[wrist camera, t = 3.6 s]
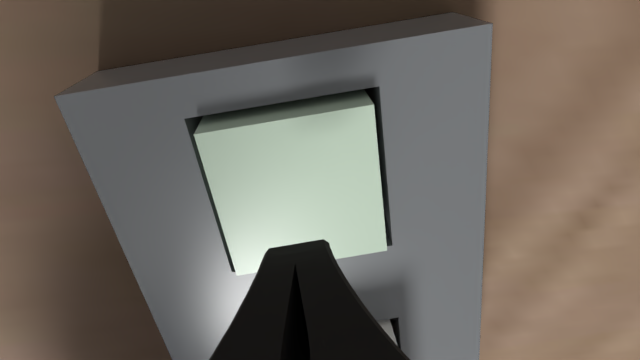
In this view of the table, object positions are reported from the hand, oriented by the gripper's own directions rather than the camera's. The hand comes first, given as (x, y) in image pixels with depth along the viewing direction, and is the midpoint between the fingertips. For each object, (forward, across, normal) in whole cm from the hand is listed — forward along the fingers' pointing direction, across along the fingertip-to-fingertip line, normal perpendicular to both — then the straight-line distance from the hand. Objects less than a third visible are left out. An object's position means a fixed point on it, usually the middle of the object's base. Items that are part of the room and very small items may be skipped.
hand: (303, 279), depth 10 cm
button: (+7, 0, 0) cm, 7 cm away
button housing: (+7, 0, +4) cm, 9 cm away
